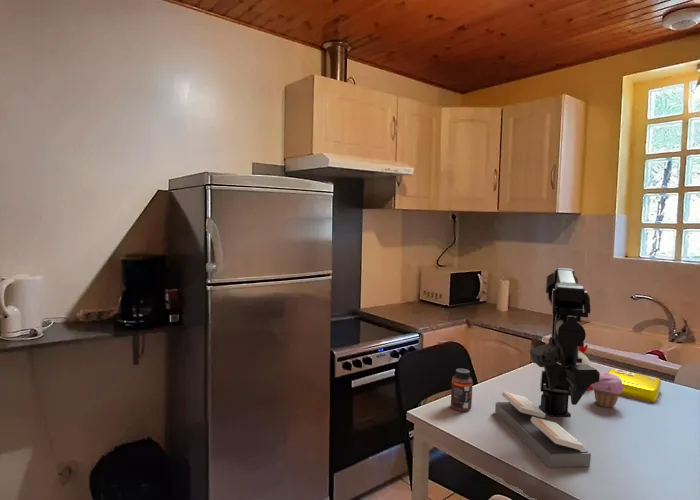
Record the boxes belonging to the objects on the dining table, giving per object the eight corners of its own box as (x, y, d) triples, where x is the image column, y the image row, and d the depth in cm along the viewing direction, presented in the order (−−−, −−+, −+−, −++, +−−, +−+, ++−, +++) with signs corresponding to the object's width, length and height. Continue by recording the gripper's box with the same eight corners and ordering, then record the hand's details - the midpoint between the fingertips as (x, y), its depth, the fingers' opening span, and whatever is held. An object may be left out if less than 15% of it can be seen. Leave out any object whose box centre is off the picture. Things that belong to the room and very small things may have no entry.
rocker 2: (554, 427, 111) (556, 422, 111) (582, 450, 100) (584, 445, 100) (530, 420, 111) (531, 416, 110) (555, 443, 100) (557, 438, 100)
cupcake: (586, 397, 140) (588, 366, 139) (616, 400, 138) (619, 370, 137) (593, 408, 132) (595, 376, 131) (625, 413, 129) (628, 380, 128)
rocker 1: (523, 400, 127) (524, 396, 127) (544, 418, 116) (545, 413, 116) (501, 395, 126) (503, 390, 126) (520, 412, 115) (522, 407, 115)
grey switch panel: (527, 411, 128) (528, 400, 128) (590, 466, 100) (591, 451, 100) (495, 412, 127) (495, 400, 127) (548, 467, 99) (549, 453, 99)
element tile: (601, 391, 147) (602, 377, 146) (609, 379, 158) (610, 366, 158) (655, 404, 137) (656, 389, 137) (660, 390, 148) (661, 377, 148)
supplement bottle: (472, 413, 126) (474, 375, 125) (450, 410, 127) (452, 373, 126) (470, 404, 132) (472, 368, 131) (450, 402, 133) (452, 366, 132)
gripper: (517, 326, 117) (514, 382, 118) (557, 347, 98) (553, 414, 100) (556, 326, 118) (553, 382, 119) (603, 346, 100) (598, 413, 101)
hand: (562, 396), depth 110 cm, fingers open, 9 cm apart
